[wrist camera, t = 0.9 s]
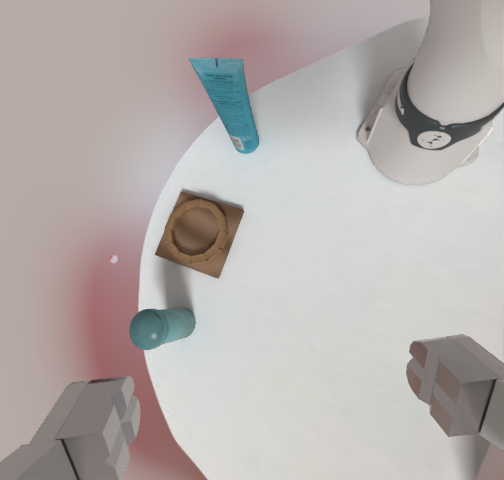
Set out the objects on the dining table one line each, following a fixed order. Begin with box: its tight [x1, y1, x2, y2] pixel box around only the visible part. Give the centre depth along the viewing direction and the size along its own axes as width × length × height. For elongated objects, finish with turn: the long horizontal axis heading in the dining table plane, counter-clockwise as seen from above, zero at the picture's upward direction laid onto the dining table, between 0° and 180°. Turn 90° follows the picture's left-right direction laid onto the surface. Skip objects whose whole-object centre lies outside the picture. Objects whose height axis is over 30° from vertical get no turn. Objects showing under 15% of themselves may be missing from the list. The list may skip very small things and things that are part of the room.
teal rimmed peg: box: [130, 308, 196, 350], centre depth 43 cm, size 5×5×11 cm
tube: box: [189, 58, 259, 154], centre depth 44 cm, size 7×5×19 cm, turn 83°
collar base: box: [155, 192, 244, 278], centre depth 50 cm, size 13×13×3 cm
